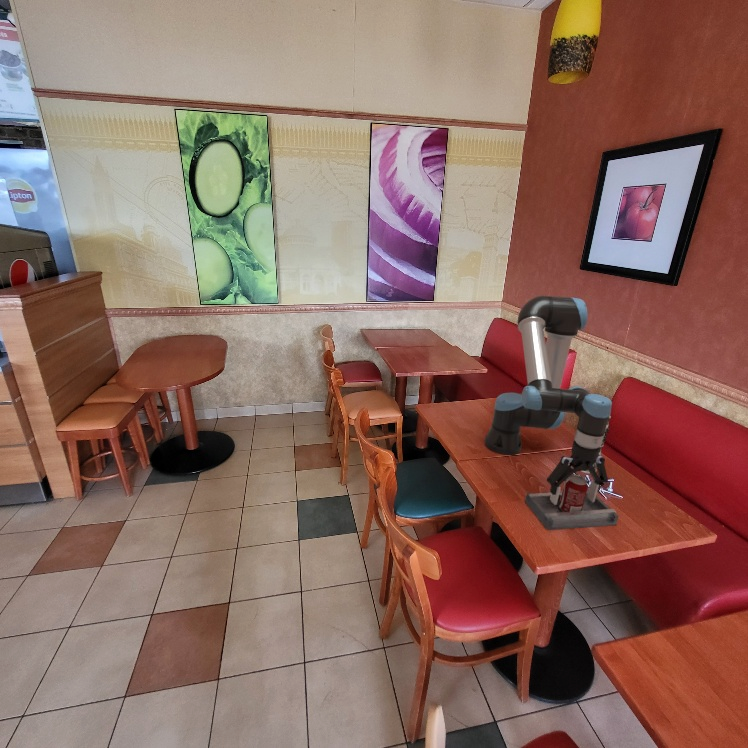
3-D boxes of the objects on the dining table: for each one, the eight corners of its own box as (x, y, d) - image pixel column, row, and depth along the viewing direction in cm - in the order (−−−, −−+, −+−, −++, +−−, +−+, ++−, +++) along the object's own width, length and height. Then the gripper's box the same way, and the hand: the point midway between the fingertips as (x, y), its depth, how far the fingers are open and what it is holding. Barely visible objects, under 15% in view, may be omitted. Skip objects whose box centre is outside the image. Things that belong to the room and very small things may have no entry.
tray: (524, 501, 138) (526, 491, 136) (587, 497, 142) (590, 487, 141) (547, 530, 125) (550, 519, 124) (616, 524, 129) (619, 514, 128)
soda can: (583, 518, 129) (592, 487, 125) (560, 514, 130) (569, 483, 126) (577, 505, 136) (585, 475, 132) (556, 502, 137) (563, 471, 133)
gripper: (557, 451, 119) (543, 510, 126) (631, 448, 123) (613, 505, 130) (543, 438, 126) (531, 495, 133) (614, 436, 130) (598, 491, 137)
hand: (572, 500), depth 132 cm, fingers open, 13 cm apart
